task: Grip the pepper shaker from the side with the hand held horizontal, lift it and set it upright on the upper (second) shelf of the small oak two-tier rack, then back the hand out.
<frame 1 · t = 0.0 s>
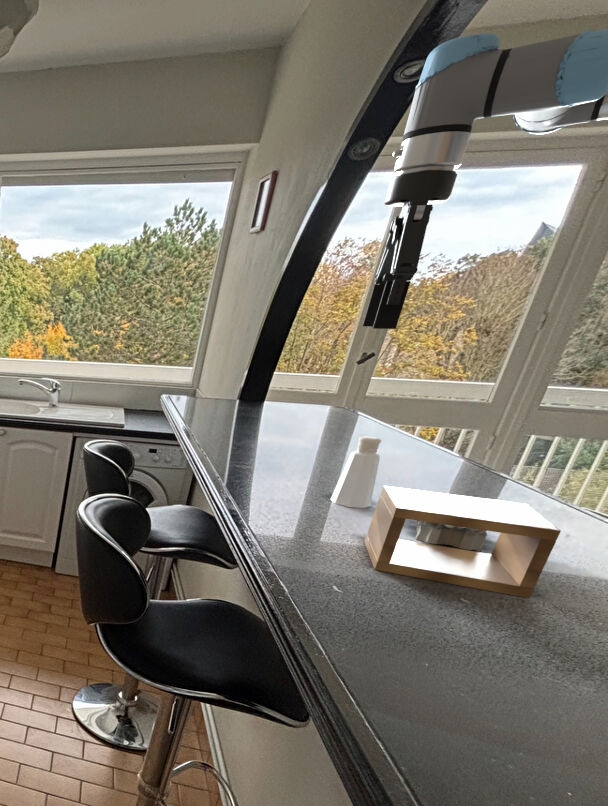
hand: (377, 327, 94), 27 cm above the countertop, tool pointing down, fingers open, 13 cm apart
pepper shaker: (349, 504, 98), on the countertop
grey bumpy bar: (446, 538, 84), on the countertop
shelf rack: (438, 567, 74), on the countertop
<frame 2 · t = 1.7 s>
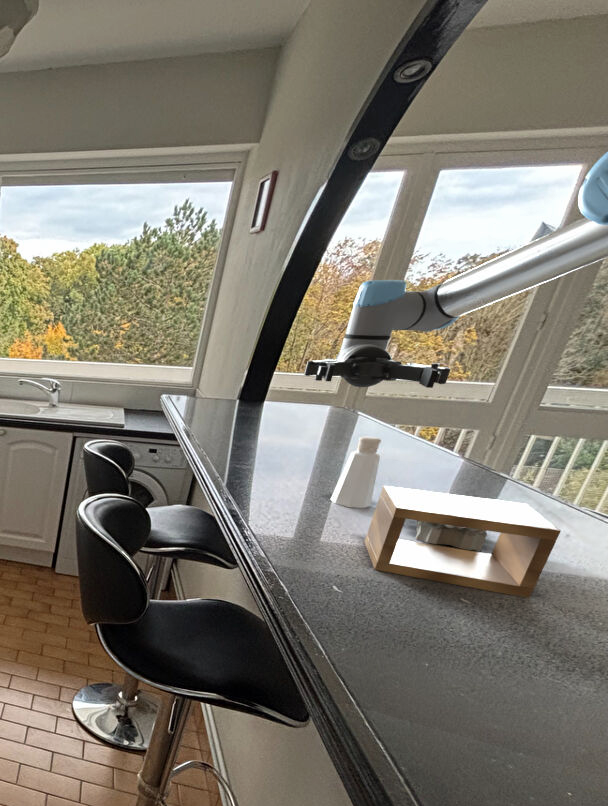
hand: (379, 376, 98), 20 cm above the countertop, tool horizontal, fingers open, 13 cm apart
nothing on the countertop moved.
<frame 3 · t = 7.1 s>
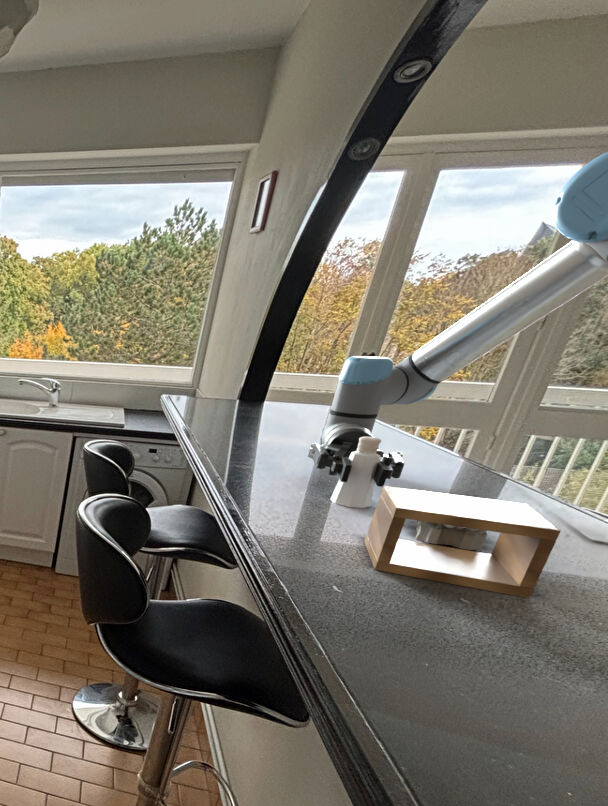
hand: (364, 475, 92), 6 cm above the countertop, tool horizontal, fingers closed on pepper shaker, 4 cm apart
pepper shaker: (349, 504, 98), on the countertop, touching gripper
everything else where it was.
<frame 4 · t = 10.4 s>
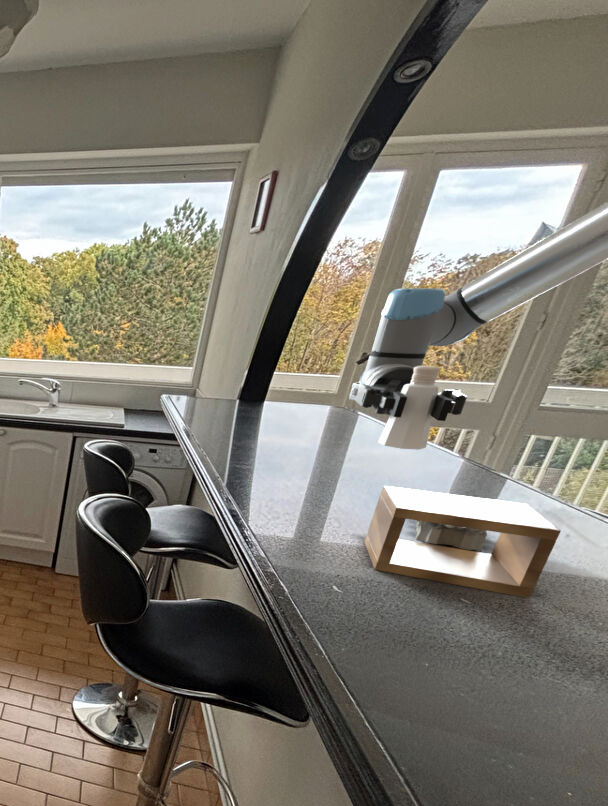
hand: (422, 408, 79), 18 cm above the countertop, tool horizontal, fingers closed on pepper shaker, 4 cm apart
pepper shaker: (400, 446, 85), point 12 cm above the countertop, touching gripper
everything else where it was.
when the fingers open (14 cm above the countertop, at t = 13.9 s): pepper shaker stays where it is, resting on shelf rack.
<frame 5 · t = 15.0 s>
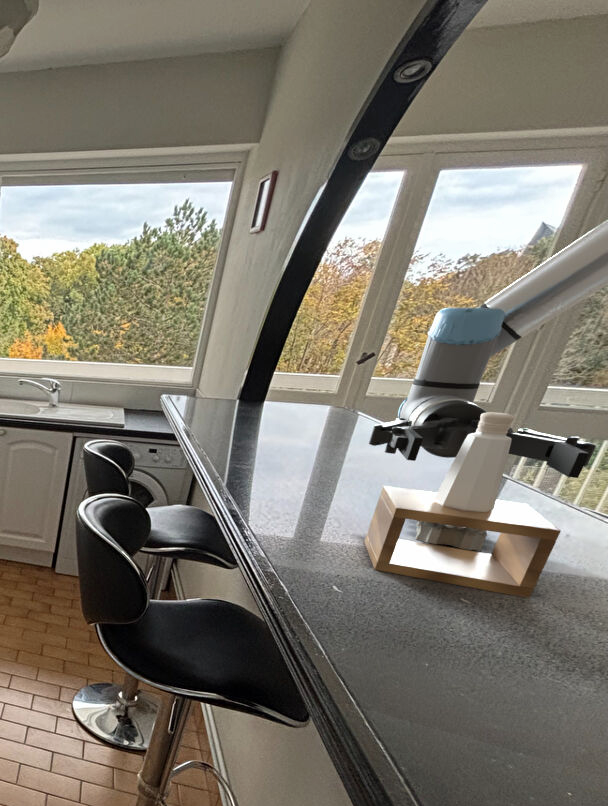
hand: (492, 457, 66), 15 cm above the countertop, tool horizontal, fingers open, 13 cm apart
pepper shaker: (461, 507, 71), point 8 cm above the countertop, touching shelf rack
everything else where it was.
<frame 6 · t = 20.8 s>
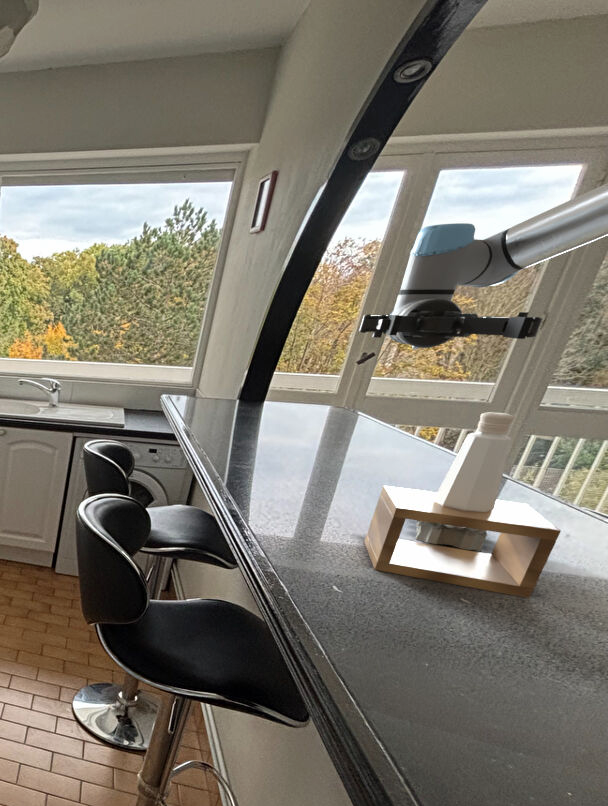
hand: (458, 326, 82), 28 cm above the countertop, tool horizontal, fingers open, 13 cm apart
nothing on the countertop moved.
at the end: pepper shaker inside the target area on the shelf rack (0.0 cm from its centre), point 8.0 cm above the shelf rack's base; pepper shaker tilted 0°; the gripper is holding nothing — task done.
